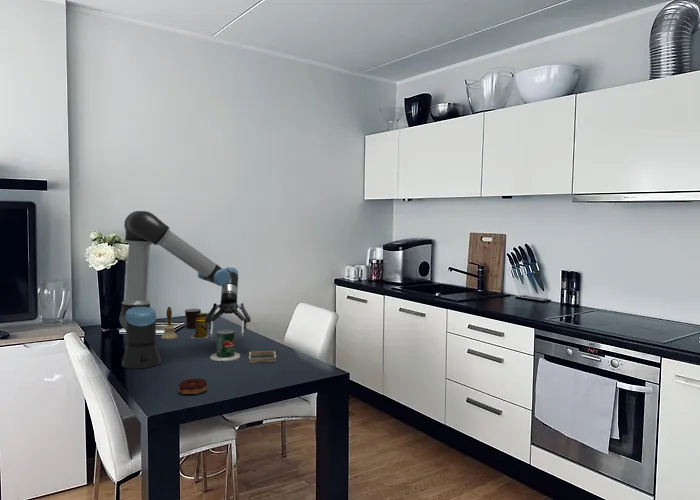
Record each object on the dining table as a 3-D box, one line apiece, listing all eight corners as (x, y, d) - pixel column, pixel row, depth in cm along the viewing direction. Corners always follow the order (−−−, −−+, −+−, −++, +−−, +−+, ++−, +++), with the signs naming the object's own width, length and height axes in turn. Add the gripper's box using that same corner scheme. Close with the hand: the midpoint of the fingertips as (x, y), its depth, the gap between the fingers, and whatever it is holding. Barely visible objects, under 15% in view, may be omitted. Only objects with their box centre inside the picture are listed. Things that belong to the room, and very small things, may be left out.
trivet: (231, 362, 216) (231, 360, 216) (204, 360, 219) (204, 358, 219) (245, 354, 228) (245, 353, 228) (219, 352, 231) (219, 350, 231)
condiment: (207, 338, 258) (207, 315, 258) (190, 338, 257) (190, 315, 256) (208, 334, 266) (208, 312, 265) (191, 335, 264) (191, 312, 263)
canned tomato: (229, 358, 219) (229, 333, 218) (213, 357, 221) (213, 332, 220) (237, 353, 227) (237, 330, 226) (221, 352, 228) (221, 328, 228)
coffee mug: (198, 329, 277) (198, 311, 276) (182, 329, 277) (182, 311, 277) (204, 325, 289) (204, 307, 288) (189, 324, 289) (189, 307, 288)
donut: (172, 394, 177) (172, 383, 177) (190, 385, 187) (190, 375, 186) (195, 398, 174) (195, 387, 174) (212, 389, 183) (212, 378, 183)
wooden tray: (276, 362, 217) (276, 357, 217) (249, 363, 215) (249, 359, 215) (275, 355, 228) (275, 350, 228) (249, 356, 226) (249, 351, 226)
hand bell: (180, 337, 259) (180, 306, 258) (165, 340, 253) (165, 308, 252) (172, 334, 264) (172, 304, 263) (157, 337, 258) (157, 306, 257)
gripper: (255, 300, 243) (255, 338, 230) (202, 301, 239) (198, 339, 225) (255, 291, 238) (255, 329, 224) (201, 291, 233) (197, 330, 219)
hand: (227, 334), depth 224 cm, fingers open, 13 cm apart
